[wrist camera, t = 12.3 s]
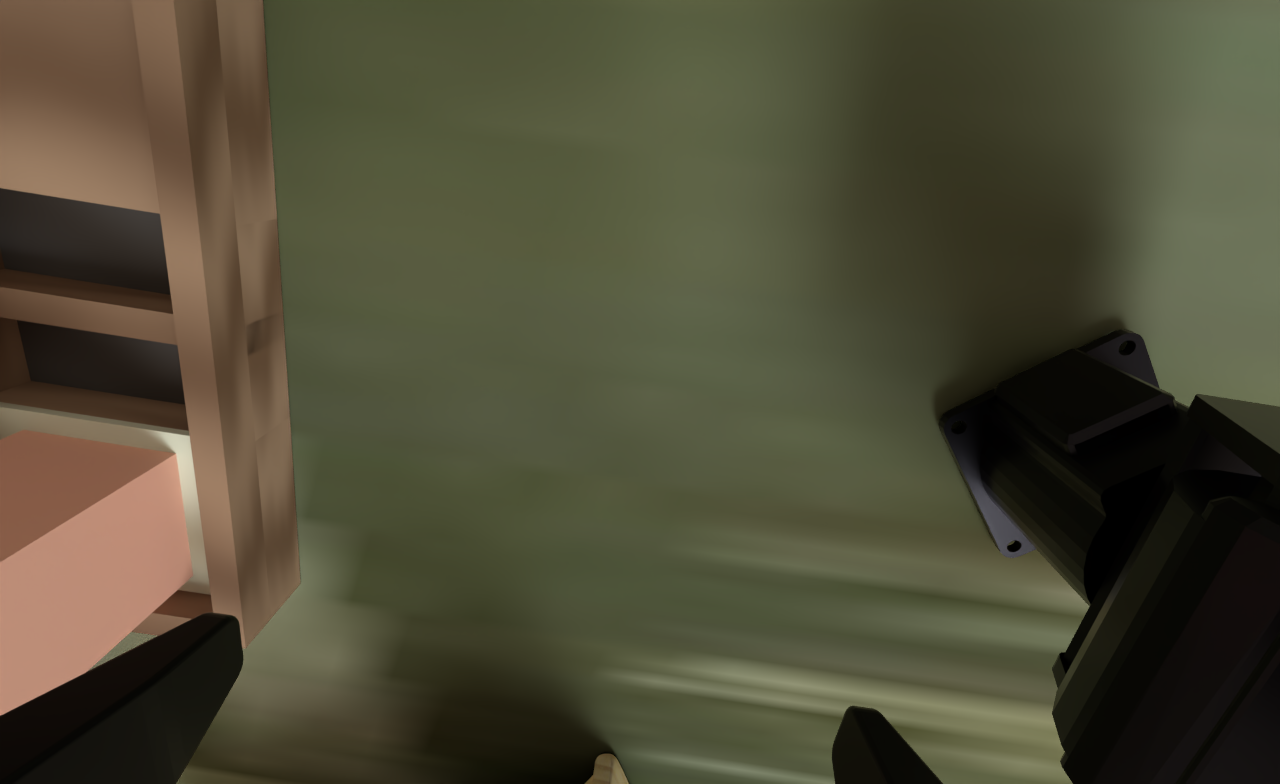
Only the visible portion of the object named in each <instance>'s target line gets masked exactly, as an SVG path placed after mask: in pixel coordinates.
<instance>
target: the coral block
mask: <svg viewBox="0 0 1280 784" xmlns="http://www.w3.org/2000/svg"><path fill="white" fill-rule="evenodd" d="M192 576H193V570H192V563H191V556H190V549H189V542H188V534H187V527H186V520H185V513H184V506H183V499H182V492H181V485H180V478H179V471H178V463H177V456H176V453H169V452H163V451H157V450H150V449H144V448H137V447H131V446H124V445H118V444H112V443H105V442H99V441H92V440H86V439H80V438H73V437H67V436H60V435H54V434H47V433H41V432H35V431H28V430H22V431H19V432H17V433H15V434H12V435H10V436H8V437H5V438H3V439H1V440H0V716H1V715H3V714H5V713H7V712H9V711H11V710H13V709H15V708H17V707H18V706H20V705H22V704H24V703H26V702H28V701H30V700H32V699H34V698H36V697H38V696H40V695H42V694H44V693H46V692H48V691H50V690H52V689H54V688H56V687H58V686H60V685H62V684H64V683H66V682H68V681H70V680H72V679H74V678H76V677H78V676H80V675H82V674H84V673H86V672H87V671H88V670H89V669H90V668H91V667H92V666H94V665H95V664H96V663H97V662H98V661H99V660H100V659H101V658H102V657H104V656H105V655H106V654H107V653H108V652H109V651H110V650H111V649H112V648H114V647H115V646H116V645H117V644H118V643H119V642H120V641H121V640H122V639H124V638H125V637H126V636H127V635H128V634H129V633H130V632H131V631H132V630H134V629H135V628H136V627H137V626H138V625H139V624H140V623H141V622H142V621H144V620H145V619H146V618H147V617H148V616H149V615H150V614H151V613H152V612H154V611H155V610H156V609H157V608H158V607H159V606H160V605H161V604H162V603H164V602H165V601H166V600H167V599H168V598H169V597H170V596H171V595H172V594H174V593H175V592H176V591H177V590H178V589H179V588H180V587H181V586H182V585H184V584H185V583H186V582H187V581H188V580H189V579H190V578H191V577H192Z"/></svg>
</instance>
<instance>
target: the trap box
mask: <svg viewBox="0 0 1280 784" xmlns="http://www.w3.org/2000/svg"><path fill="white" fill-rule="evenodd" d="M22 430H28V431H35V432H41V433H47V434H54V435H60V436H67V437H73V438H80V439H86V440H92V441H99V442H105V443H112V444H118V445H124V446H131V447H137V448H144V449H150V450H157V451H163V452H169V453H176V456H177V463H178V471H179V478H180V485H181V492H182V499H183V506H184V513H185V520H186V527H187V534H188V542H189V549H190V556H191V563H192V570H193V576H192V577H191V578H190V579H189V580H188V581H187V582H186V583H185V584H184V585H182V586H181V587H180V588H179V589H178V590H177V591H176V592H175V593H174V594H172V595H171V596H170V597H169V598H168V599H167V600H166V601H165V602H164V603H162V604H161V605H160V606H159V607H158V608H157V609H156V610H155V611H154V612H152V613H151V614H150V615H149V616H148V617H147V618H146V619H145V620H144V621H142V622H141V623H140V624H139V625H138V626H137V627H136V628H135V629H134V630H132V631H131V632H137V633H144V634H151V635H158V636H159V635H161V634H163V633H165V632H167V631H169V630H171V629H173V628H175V627H177V626H179V625H181V624H183V623H185V622H187V621H189V620H191V619H193V618H195V617H197V616H199V615H201V614H203V613H207V612H213V613H220V614H227V615H233V616H235V617H236V618H237V619H238V620H239V624H240V633H241V641H242V648H247V646H248V645H249V644H250V643H251V642H252V640H253V639H254V638H255V637H256V636H257V634H258V633H259V632H260V631H261V630H262V629H263V627H264V626H265V625H266V624H267V623H268V621H269V620H270V619H271V618H272V617H273V616H274V614H275V613H276V612H277V611H278V610H279V608H280V607H281V606H282V605H283V604H284V602H285V601H286V600H287V599H288V598H289V597H290V595H291V594H292V593H293V592H294V591H295V589H296V588H297V587H298V586H299V585H300V584H301V581H300V565H299V550H298V534H297V519H296V504H295V488H294V473H293V457H292V442H291V426H290V411H289V396H288V380H287V365H286V349H285V334H284V318H283V303H282V288H281V272H280V257H279V241H278V226H277V210H276V195H275V180H274V164H273V149H272V133H271V118H270V102H269V87H268V72H267V56H266V41H265V25H264V10H263V0H0V440H1V439H3V438H5V437H8V436H10V435H12V434H15V433H17V432H19V431H22Z"/></svg>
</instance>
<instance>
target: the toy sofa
mask: <svg viewBox="0 0 1280 784" xmlns="http://www.w3.org/2000/svg"><path fill="white" fill-rule="evenodd" d="M585 784H629V783H628V780H627V778H626V776H625V774H624V772H623V770H622V768H621V766H620V764H619V762H618V760H617V758H616V757H615V756H614V755H612V754H601V755H599V756H598V757H597V758H596V760H595V767H594V773H593V776H592V777H591V778H590V779H589V780H588V781H587V782H586V783H585Z"/></svg>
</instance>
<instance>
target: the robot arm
mask: <svg viewBox="0 0 1280 784" xmlns="http://www.w3.org/2000/svg"><path fill="white" fill-rule="evenodd" d="M1125 341H1127V345H1126V347H1125V348H1124V349H1123V350H1121V351H1119V347H1120V345H1121V344H1122V343H1123V342H1125ZM960 420H961V422H962V423H961V425H960V426H959V427H958V428H956V429H951V427H952V425H953V423H955V422H956V421H960ZM939 428H940V431H941V433H942V435H943V437H944V439H945V441H946V443H947V445H948V447H949V450H950V452H951V454H952V456H953V458H954V460H955V462H956V464H957V466H958V468H959V471H960V473H961V475H962V477H963V479H964V481H965V483H966V485H967V487H968V489H969V492H970V494H971V496H972V498H973V500H974V502H975V504H976V506H977V508H978V510H979V513H980V515H981V517H982V519H983V521H984V523H985V525H986V527H987V529H988V531H989V534H990V536H991V538H992V540H993V542H994V544H995V546H996V547H997V548H998V549H999V551H1000V552H1001V553H1002V554H1003V555H1004V556H1006V557H1010V558H1014V557H1018V556H1021V555H1023V554H1026V553H1028V552H1030V551H1033V550H1035V549H1037V550H1038V551H1039V552H1040V554H1041V555H1042V556H1043V557H1044V558H1045V559H1046V560H1047V561H1048V562H1049V563H1050V564H1051V565H1052V566H1053V567H1054V569H1055V570H1056V571H1057V572H1058V573H1059V574H1060V575H1061V576H1062V577H1063V578H1064V579H1065V580H1066V581H1067V582H1068V584H1069V585H1070V586H1071V587H1072V588H1073V589H1074V590H1075V591H1076V592H1077V593H1078V594H1079V595H1080V596H1081V598H1082V599H1083V600H1084V601H1085V602H1086V603H1087V604H1088V605H1089V606H1090V607H1089V609H1088V611H1087V613H1086V615H1085V617H1084V618H1083V620H1082V622H1081V624H1080V626H1079V628H1078V630H1077V632H1076V633H1075V635H1074V637H1073V639H1072V641H1071V643H1070V645H1069V647H1068V649H1067V650H1066V652H1065V653H1060V654H1059V656H1058V658H1057V660H1056V661H1055V663H1054V665H1053V667H1052V671H1053V674H1054V677H1055V680H1056V684H1057V687H1058V690H1057V693H1056V698H1055V702H1054V707H1053V711H1052V715H1053V718H1054V722H1055V725H1056V728H1057V732H1058V735H1059V738H1060V742H1061V745H1062V747H1063V749H1064V751H1065V753H1064V754H1063V756H1062V758H1061V761H1060V762H1061V765H1062V768H1063V769H1064V771H1065V772H1066V774H1067V775H1068V777H1069V778H1070V780H1071V781H1072V783H1073V784H1280V407H1278V406H1272V405H1265V404H1259V403H1252V402H1246V401H1240V400H1233V399H1227V398H1221V397H1214V396H1208V395H1201V394H1196V396H1195V398H1194V400H1193V402H1192V403H1191V405H1190V407H1188V406H1186V405H1184V404H1181V403H1179V402H1177V401H1175V398H1174V396H1173V395H1172V394H1170V393H1168V392H1166V391H1164V390H1162V389H1160V388H1159V385H1158V382H1157V379H1156V376H1155V373H1154V370H1153V367H1152V364H1151V361H1150V358H1149V355H1148V352H1147V349H1146V346H1145V343H1144V340H1143V339H1142V337H1141V336H1140V335H1138V334H1136V333H1134V332H1131V331H1129V330H1122V329H1120V330H1117V331H1114V332H1112V333H1110V334H1108V335H1106V336H1104V337H1101V338H1099V339H1097V340H1095V341H1093V342H1091V343H1089V344H1087V345H1085V346H1083V347H1081V348H1079V349H1076V350H1075V349H1070V350H1068V351H1066V352H1064V353H1062V354H1060V355H1058V356H1055V357H1053V358H1051V359H1049V360H1047V361H1045V362H1043V363H1041V364H1039V365H1037V366H1035V367H1033V368H1031V369H1028V370H1026V371H1024V372H1022V373H1020V374H1018V375H1016V376H1014V377H1012V378H1010V379H1008V380H1006V381H1004V382H1001V383H1000V384H999V385H998V386H997V387H996V388H995V389H993V390H991V391H989V392H987V393H985V394H983V395H981V396H979V397H976V398H974V399H972V400H970V401H968V402H966V403H964V404H962V405H960V406H958V407H956V408H954V409H951V410H949V411H948V412H946V413H945V414H943V416H942V417H941V419H940V421H939ZM1011 541H1015V542H1014V543H1013V544H1012V545H1008V543H1010V542H1011ZM1007 545H1008V546H1007ZM242 665H243V650H242V641H241V633H240V624H239V620H238V619H237V618H236V617H235V616H233V615H227V614H220V613H213V612H207V613H203V614H201V615H199V616H197V617H195V618H193V619H191V620H189V621H187V622H185V623H183V624H181V625H179V626H177V627H175V628H173V629H171V630H169V631H167V632H165V633H163V634H161V635H159V636H157V637H155V638H153V639H151V640H149V641H147V642H145V643H143V644H141V645H139V646H137V647H135V648H133V649H131V650H129V651H127V652H125V653H123V654H121V655H119V656H117V657H115V658H113V659H112V660H110V661H108V662H106V663H104V664H102V665H100V666H98V667H96V668H94V669H92V670H90V671H88V672H86V673H84V674H82V675H80V676H78V677H76V678H74V679H72V680H70V681H68V682H66V683H64V684H62V685H60V686H58V687H56V688H54V689H52V690H50V691H48V692H46V693H44V694H42V695H40V696H38V697H36V698H34V699H32V700H30V701H28V702H26V703H24V704H22V705H20V706H18V707H17V708H15V709H13V710H11V711H9V712H7V713H5V714H3V715H1V716H0V784H176V783H177V781H178V779H179V778H180V776H181V774H182V773H183V771H184V769H185V768H186V766H187V764H188V763H189V761H190V759H191V758H192V756H193V754H194V752H195V751H196V749H197V747H198V745H199V744H200V742H201V740H202V738H203V737H204V735H205V733H206V731H207V730H208V728H209V726H210V724H211V723H212V721H213V719H214V718H215V716H216V714H217V712H218V711H219V709H220V707H221V705H222V704H223V702H224V700H225V698H226V697H227V695H228V693H229V691H230V690H231V688H232V686H233V684H234V683H235V681H236V679H237V677H238V675H239V673H240V671H241V668H242ZM832 763H833V771H834V778H835V784H943V783H942V782H941V781H940V780H939V778H938V777H937V776H936V775H935V774H934V773H933V772H932V771H931V769H930V768H929V767H928V766H927V765H926V764H925V763H924V761H923V760H922V759H921V758H920V757H919V756H918V755H917V754H916V752H915V751H914V750H913V749H912V748H911V747H910V746H909V744H908V743H907V742H906V741H905V740H904V739H903V738H902V737H901V735H900V734H899V733H898V732H897V731H896V730H895V729H894V727H893V726H892V725H891V724H890V723H889V722H888V721H887V720H886V718H885V717H884V716H883V715H882V714H881V713H880V712H879V711H877V710H875V709H872V708H865V707H858V706H850V707H849V708H848V709H847V710H846V712H845V714H844V717H843V719H842V722H841V725H840V727H839V730H838V732H837V735H836V738H835V740H834V743H833V748H832Z"/></svg>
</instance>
